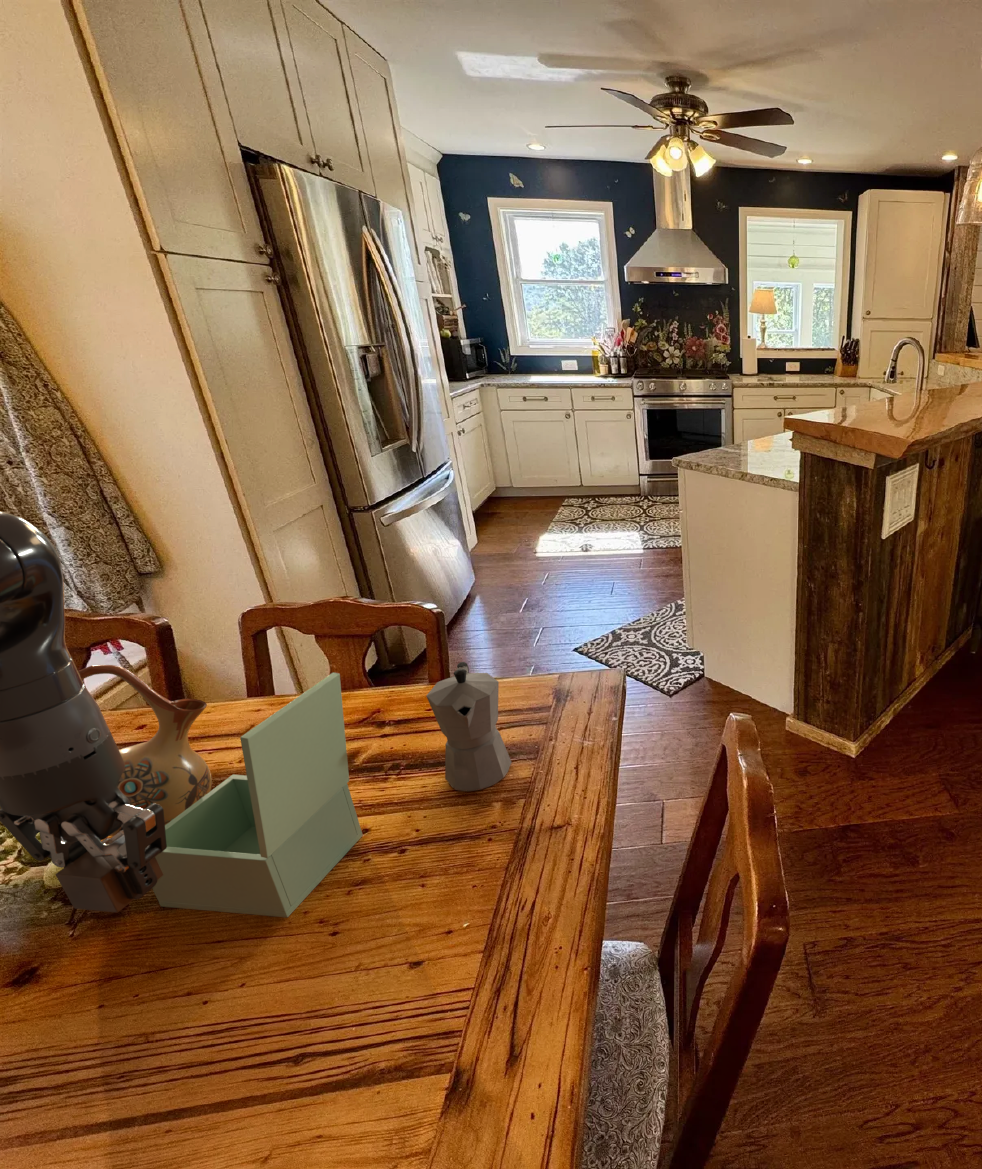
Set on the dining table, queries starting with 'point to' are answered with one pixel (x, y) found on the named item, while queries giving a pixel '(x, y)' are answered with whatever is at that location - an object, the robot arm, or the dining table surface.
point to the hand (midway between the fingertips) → (119, 888)
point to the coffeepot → (470, 729)
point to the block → (96, 883)
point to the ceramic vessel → (161, 753)
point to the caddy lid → (296, 762)
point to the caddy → (249, 854)
